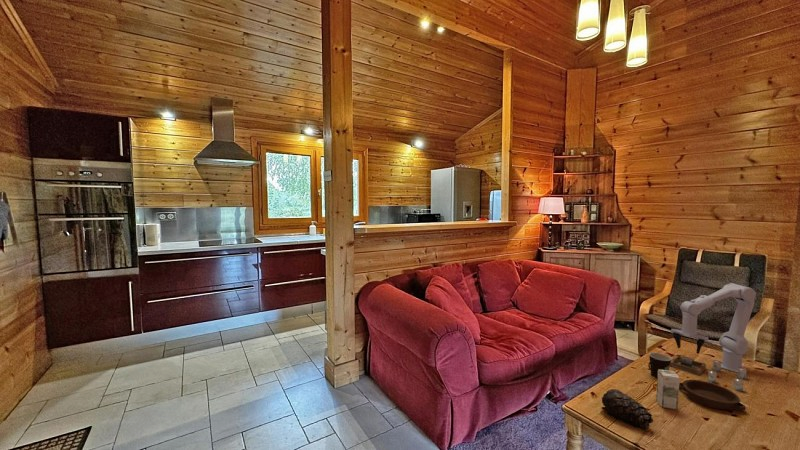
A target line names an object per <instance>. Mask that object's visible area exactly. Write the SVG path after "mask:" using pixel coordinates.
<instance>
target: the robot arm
mask: <svg viewBox="0 0 800 450" xmlns="http://www.w3.org/2000/svg"><path fill="white" fill-rule="evenodd" d="M756 296H757V292H756V291H755V289H753V288H752V287H749V286H744V285H740V284H736V283H733V282H730V283H728V284H725V285H723V287H722V288H721V289H719V290H717V291H715V292H713V293H711V294H708V295H705V294H701V295H699V297H696V298H694V299H690V301H689V300H685V301H684V302H682V303H681V304H680V306H679V309H680V310H681V314H682V322H681V323H682V325H681V326H682V327H681V329H675V328H671V329H670V333H671V334H672V336H673V339H674V341H675V343H676V346H677V349H680V348H681V345H682V344H681V340H682V336H684V337H688V338H691V339H695V340H696V354H698V355H699V354H700V352H701V348H702V347H703V345H704V344H705V342H706V343H707V342H709V337H708V336H705V335H703V334H699V333H697V331H698V315H700V314H701V312H702V311H704V309H705V310H706V309H707V308H709V307H712V306H713V305H714V303H715V302H717V301H721V300H723V299H726V298H729V297H731V298H732V299H734V300H735V301H736V302H737V305H736V308H735V312H734V315H733V317H732V321H731V324H730V326H729V330H728V331H725V332H723V334H722V335H721V337H720V338H719V340H718V343H719V345H720V346H721V349H722V356H721V357H722V360H721V369H724V370H727V371H731V372H735V373H738V367H743V368H745V366H743V355H745V354H746V353H747V352H748V349H749V347H748V343H749V342H748V340H747V338H746V337H745V336H744V335H745V333H746V330H747V327H748V324H749V320H750V318H751V315H752V311H753V309H754V306H755V298H756Z"/></svg>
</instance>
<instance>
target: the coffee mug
mask: <svg viewBox="0 0 800 450" xmlns="http://www.w3.org/2000/svg"><path fill="white" fill-rule="evenodd" d="M648 356H649V357H648V358H649V362H648V369H649V370H650V375H651V376H652V377H653V376H654V378H655V379H657V378H658V369H660V370H668V371H670V362H671V360H672V358H671V357H670V356H668V355H666V354H663V353H659V352H650V353H649V354H648Z"/></svg>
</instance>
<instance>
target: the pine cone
mask: <svg viewBox="0 0 800 450" xmlns="http://www.w3.org/2000/svg"><path fill="white" fill-rule="evenodd" d="M601 403H602V405H603V407H605V409H604V413H605V414H606V415H608V416H609V417H611V418H612V419H615V420H617V421H619V422H621V423H624V424H626V425H628V426H631V427H633V428H635V429H638V430H640V431H641V432H646V433H649V432H650V431H648V429H649V428H648V427H650V424H652V423H654V419H653V417H652V416H653V415H652V413H651V412H650V411H648V410H647V408H646V407H645V406H644V405H643V404H641V403H640V402H639V401H636V400H635V399H634V398H632V397H631V396H629V395H628V394H626V393H624V392H622V391H620V390H619V389H616V388H611V389H608V390H607V391H606V392H605V393H604V394H603V396H602V397H601Z"/></svg>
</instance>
